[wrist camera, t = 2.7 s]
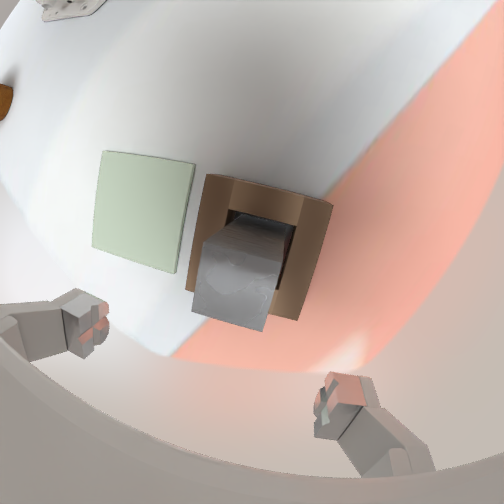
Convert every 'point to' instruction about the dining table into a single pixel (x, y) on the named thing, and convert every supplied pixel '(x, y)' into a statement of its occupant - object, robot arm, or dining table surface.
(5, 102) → the disposable coffee cup
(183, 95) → the dining table surface
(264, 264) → the peg
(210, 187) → the socket block
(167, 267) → the mat
